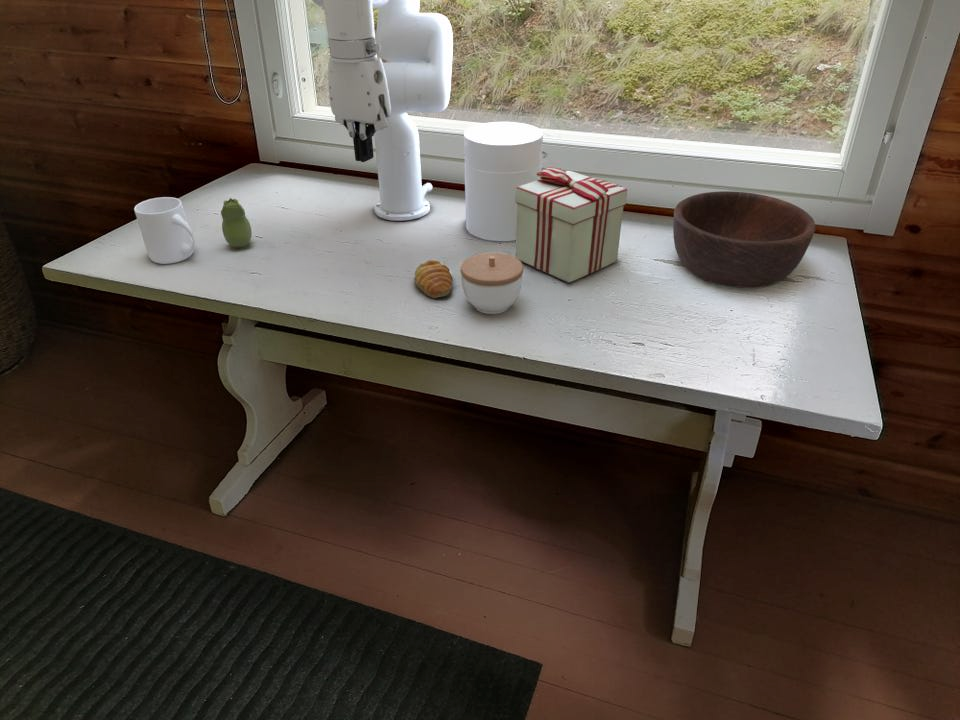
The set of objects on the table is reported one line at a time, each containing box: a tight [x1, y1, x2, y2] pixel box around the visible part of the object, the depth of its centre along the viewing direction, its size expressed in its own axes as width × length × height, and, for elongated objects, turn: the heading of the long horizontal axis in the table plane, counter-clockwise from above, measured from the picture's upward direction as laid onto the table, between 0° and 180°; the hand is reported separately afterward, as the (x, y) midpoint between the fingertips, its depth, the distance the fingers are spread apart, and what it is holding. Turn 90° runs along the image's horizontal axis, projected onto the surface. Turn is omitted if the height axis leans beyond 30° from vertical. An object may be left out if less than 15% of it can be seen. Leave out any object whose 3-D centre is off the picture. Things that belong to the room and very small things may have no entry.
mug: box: [133, 196, 196, 265], centre depth 137 cm, size 9×12×11 cm
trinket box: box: [460, 252, 524, 315], centre depth 120 cm, size 11×11×9 cm
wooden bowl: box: [672, 190, 816, 289], centre depth 132 cm, size 25×25×10 cm
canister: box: [463, 121, 544, 242], centre depth 145 cm, size 16×16×20 cm
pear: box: [220, 197, 253, 249], centre depth 141 cm, size 6×5×10 cm
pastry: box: [414, 259, 454, 299], centre depth 127 cm, size 9×7×4 cm
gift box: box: [515, 166, 628, 284], centre depth 133 cm, size 17×18×17 cm
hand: (364, 159), depth 124 cm, fingers closed
